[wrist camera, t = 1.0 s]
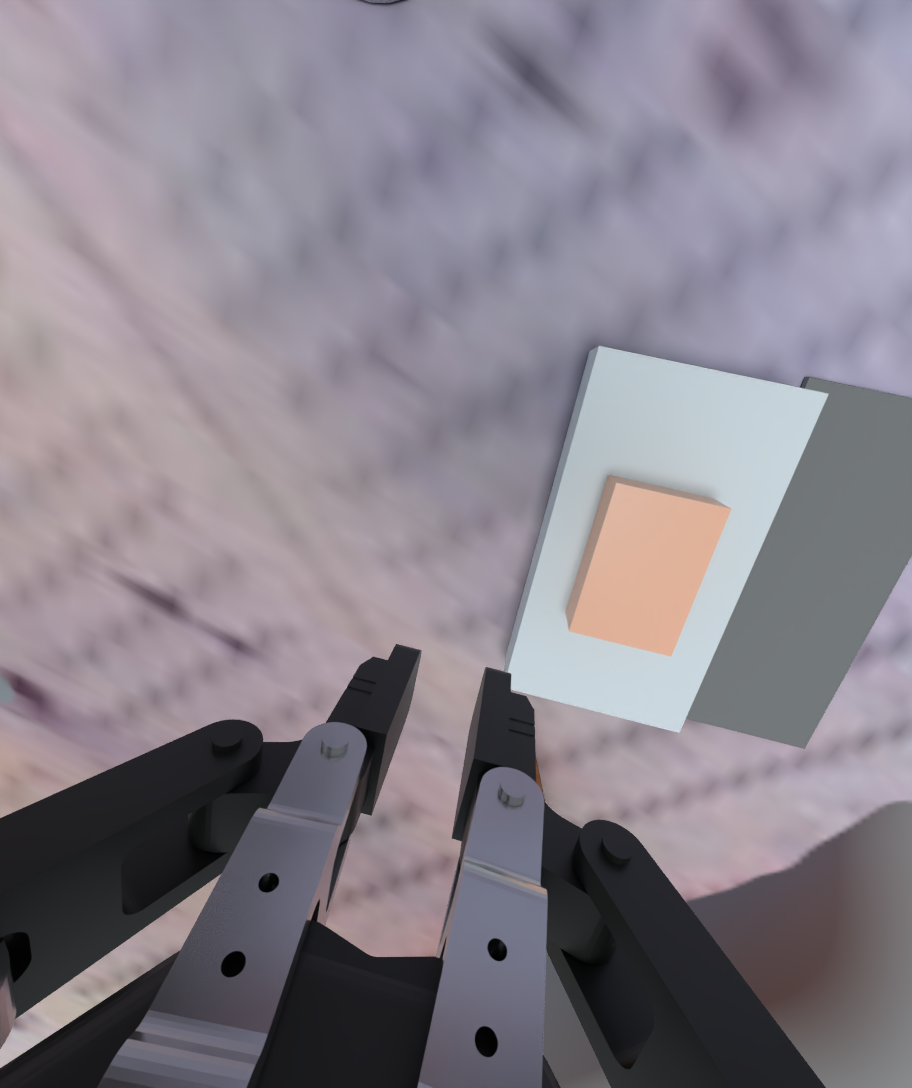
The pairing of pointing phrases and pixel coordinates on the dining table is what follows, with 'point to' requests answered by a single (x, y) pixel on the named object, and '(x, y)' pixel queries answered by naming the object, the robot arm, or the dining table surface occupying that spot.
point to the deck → (667, 461)
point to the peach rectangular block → (644, 564)
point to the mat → (817, 571)
